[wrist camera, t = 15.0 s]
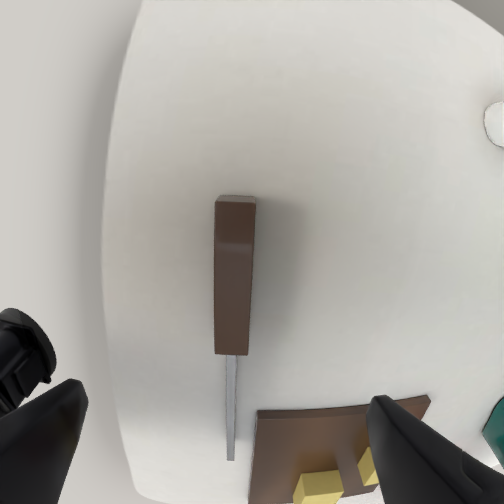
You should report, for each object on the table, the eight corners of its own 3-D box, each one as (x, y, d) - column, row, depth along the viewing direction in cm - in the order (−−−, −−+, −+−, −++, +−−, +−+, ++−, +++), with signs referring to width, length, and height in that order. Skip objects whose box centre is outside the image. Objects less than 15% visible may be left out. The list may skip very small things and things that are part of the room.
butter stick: (292, 495, 26) (294, 516, 23) (301, 473, 24) (304, 496, 21) (326, 492, 26) (329, 512, 23) (338, 469, 24) (344, 491, 21)
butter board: (247, 498, 28) (248, 504, 27) (257, 410, 22) (257, 419, 21) (371, 486, 28) (372, 491, 27) (427, 394, 23) (431, 401, 22)
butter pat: (356, 464, 24) (363, 486, 21) (367, 446, 23) (375, 469, 20) (390, 458, 24) (398, 478, 21) (402, 440, 23) (411, 461, 20)
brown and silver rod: (220, 439, 23) (218, 460, 21) (219, 195, 17) (214, 201, 15) (242, 440, 23) (242, 461, 21) (254, 196, 17) (256, 202, 15)
